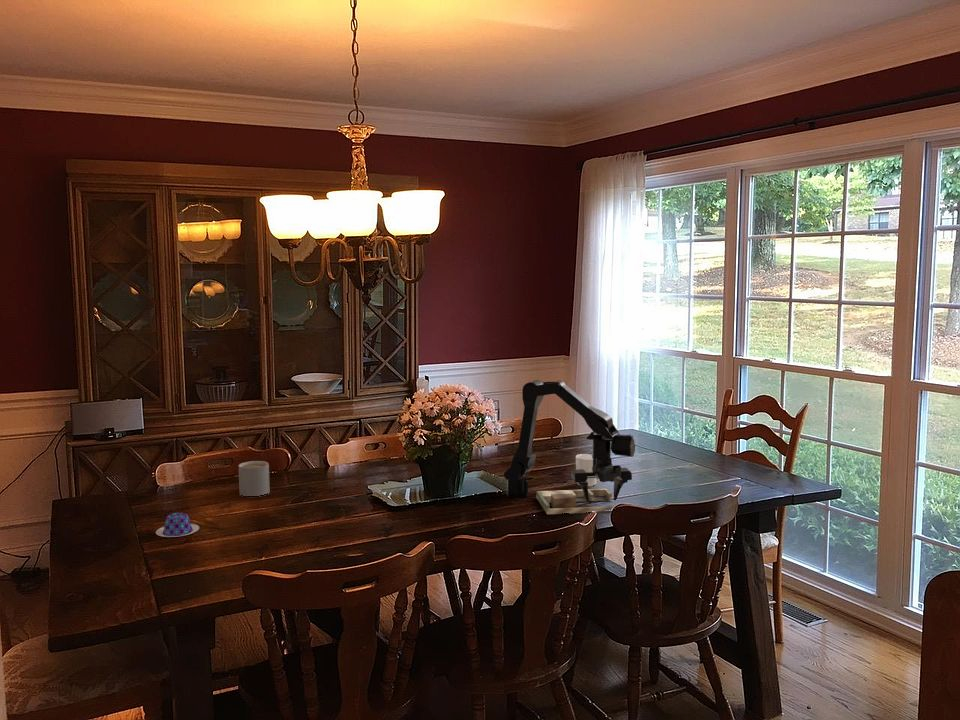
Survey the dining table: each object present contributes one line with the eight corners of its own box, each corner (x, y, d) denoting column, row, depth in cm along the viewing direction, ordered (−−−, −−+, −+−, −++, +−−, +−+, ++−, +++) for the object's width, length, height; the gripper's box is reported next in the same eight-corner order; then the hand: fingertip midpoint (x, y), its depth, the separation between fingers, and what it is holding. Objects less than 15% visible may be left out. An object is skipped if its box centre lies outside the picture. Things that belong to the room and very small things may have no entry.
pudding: (148, 532, 234) (147, 515, 233) (187, 523, 242) (186, 506, 242) (167, 542, 226) (166, 524, 225) (206, 532, 234) (206, 514, 234)
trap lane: (547, 514, 249) (547, 506, 248) (536, 498, 265) (536, 491, 265) (621, 511, 252) (621, 503, 251) (606, 495, 268) (606, 488, 268)
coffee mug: (270, 495, 270) (269, 466, 268) (239, 498, 267) (238, 469, 266) (268, 485, 282) (267, 457, 281) (239, 487, 279) (238, 459, 278)
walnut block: (554, 510, 253) (554, 498, 252) (551, 506, 258) (551, 494, 257) (575, 510, 254) (575, 498, 253) (572, 505, 259) (572, 493, 258)
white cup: (580, 487, 278) (580, 460, 277) (572, 482, 286) (572, 454, 284) (601, 486, 280) (601, 458, 279) (592, 480, 288) (592, 453, 286)
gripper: (579, 460, 246) (579, 509, 248) (637, 458, 248) (637, 507, 250) (570, 452, 257) (570, 499, 259) (626, 450, 259) (626, 496, 261)
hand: (601, 500), depth 257 cm, fingers open, 9 cm apart
